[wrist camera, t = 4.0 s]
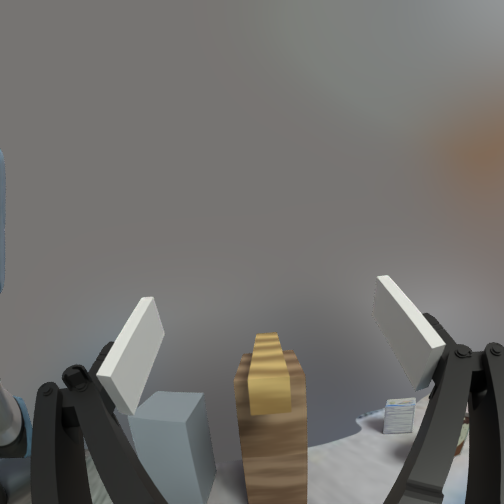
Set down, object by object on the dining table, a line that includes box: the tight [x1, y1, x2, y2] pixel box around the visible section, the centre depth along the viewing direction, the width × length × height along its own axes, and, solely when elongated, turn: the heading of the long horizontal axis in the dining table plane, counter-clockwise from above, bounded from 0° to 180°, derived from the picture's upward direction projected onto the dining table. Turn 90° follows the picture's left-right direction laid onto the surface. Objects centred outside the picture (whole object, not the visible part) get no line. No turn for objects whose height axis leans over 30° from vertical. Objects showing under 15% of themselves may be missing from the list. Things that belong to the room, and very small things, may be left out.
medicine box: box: [383, 398, 416, 434], centre depth 53 cm, size 8×4×9 cm, turn 59°
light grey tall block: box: [128, 391, 216, 504], centre depth 41 cm, size 14×10×20 cm
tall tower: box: [234, 350, 307, 504], centre depth 43 cm, size 18×10×28 cm, turn 177°
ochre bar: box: [248, 332, 292, 415], centre depth 39 cm, size 30×4×4 cm, turn 177°
